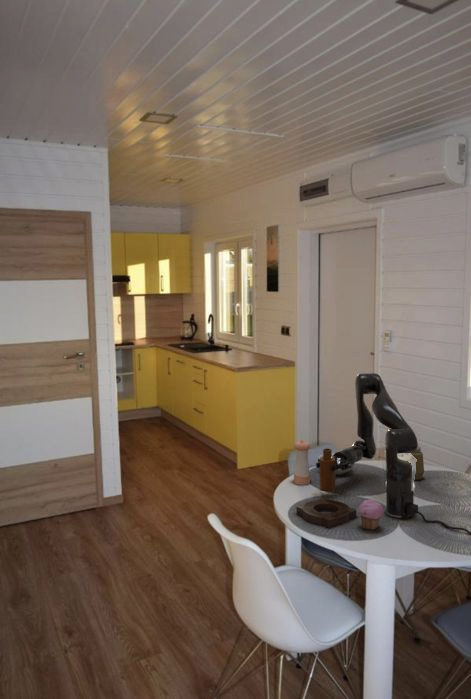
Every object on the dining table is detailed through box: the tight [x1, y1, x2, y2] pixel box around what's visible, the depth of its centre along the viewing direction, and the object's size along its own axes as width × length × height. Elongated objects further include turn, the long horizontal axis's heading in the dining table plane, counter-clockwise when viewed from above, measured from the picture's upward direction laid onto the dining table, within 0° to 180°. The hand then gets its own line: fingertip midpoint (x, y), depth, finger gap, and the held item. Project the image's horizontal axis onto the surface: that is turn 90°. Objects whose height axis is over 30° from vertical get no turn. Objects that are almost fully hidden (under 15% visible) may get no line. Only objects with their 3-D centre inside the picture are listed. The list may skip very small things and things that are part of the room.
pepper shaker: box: [293, 439, 311, 486], centre depth 257 cm, size 7×7×19 cm
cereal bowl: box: [318, 452, 355, 476], centre depth 270 cm, size 17×17×7 cm
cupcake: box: [357, 499, 384, 531], centre depth 208 cm, size 9×9×10 cm
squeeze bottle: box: [411, 445, 425, 481], centre depth 260 cm, size 8×8×18 cm
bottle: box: [319, 447, 336, 493], centre depth 239 cm, size 6×6×17 cm
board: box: [296, 497, 357, 529], centre depth 220 cm, size 18×18×3 cm
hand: (324, 467), depth 238 cm, fingers closed on bottle, 6 cm apart
